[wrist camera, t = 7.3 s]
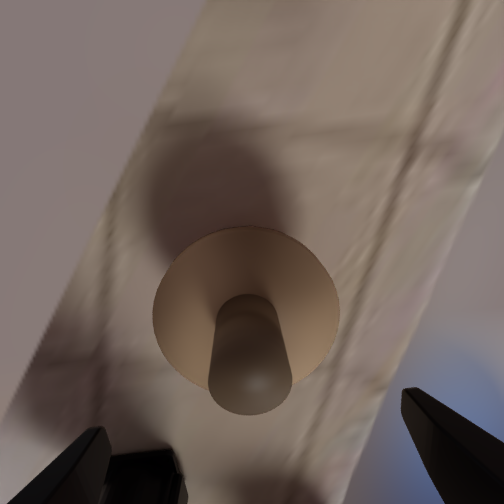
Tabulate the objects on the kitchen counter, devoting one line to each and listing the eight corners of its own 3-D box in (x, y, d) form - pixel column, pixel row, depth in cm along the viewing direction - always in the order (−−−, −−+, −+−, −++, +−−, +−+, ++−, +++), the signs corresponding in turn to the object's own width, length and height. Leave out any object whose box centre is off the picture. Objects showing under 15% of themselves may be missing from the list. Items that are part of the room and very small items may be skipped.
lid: (176, 392, 17) (151, 486, 12) (139, 238, 14) (88, 281, 9) (335, 372, 17) (374, 458, 12) (330, 215, 14) (378, 246, 9)
